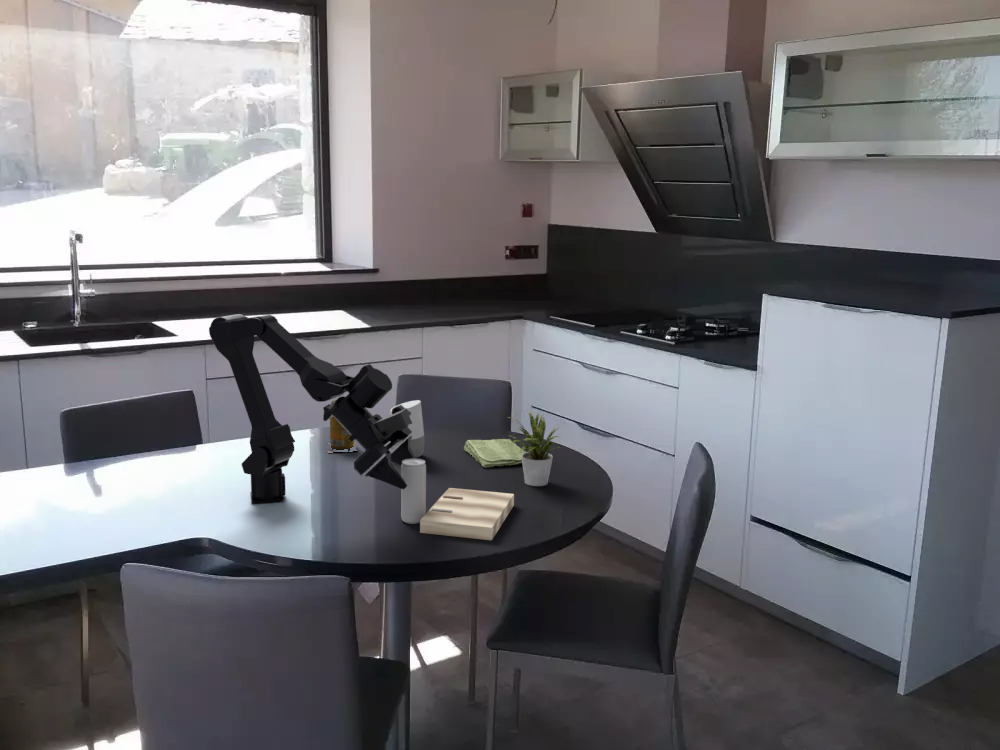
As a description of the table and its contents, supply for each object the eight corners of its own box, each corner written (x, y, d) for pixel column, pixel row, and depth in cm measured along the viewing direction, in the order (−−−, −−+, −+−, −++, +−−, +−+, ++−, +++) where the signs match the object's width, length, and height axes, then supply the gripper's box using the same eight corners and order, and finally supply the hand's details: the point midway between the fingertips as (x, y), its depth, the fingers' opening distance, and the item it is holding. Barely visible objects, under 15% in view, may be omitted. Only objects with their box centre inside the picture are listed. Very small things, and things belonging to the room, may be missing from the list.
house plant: (492, 474, 207) (493, 405, 203) (547, 469, 211) (549, 402, 208) (514, 493, 194) (516, 420, 190) (573, 487, 198) (575, 416, 195)
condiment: (355, 443, 230) (354, 397, 227) (357, 452, 222) (357, 405, 219) (326, 444, 228) (325, 398, 226) (327, 453, 220) (327, 406, 218)
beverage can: (413, 514, 180) (413, 456, 177) (430, 520, 177) (431, 461, 174) (396, 520, 176) (396, 461, 174) (413, 526, 173) (413, 466, 171)
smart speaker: (389, 451, 224) (389, 396, 221) (426, 452, 223) (426, 397, 221) (383, 462, 214) (383, 405, 212) (421, 463, 214) (422, 406, 211)
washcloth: (482, 471, 210) (482, 458, 210) (461, 450, 227) (461, 438, 226) (534, 467, 215) (535, 454, 214) (510, 447, 231) (510, 435, 230)
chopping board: (491, 540, 167) (491, 526, 167) (420, 532, 170) (420, 519, 170) (513, 505, 186) (514, 493, 186) (449, 499, 189) (449, 486, 189)
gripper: (368, 405, 164) (426, 468, 164) (402, 385, 182) (454, 442, 181) (329, 444, 167) (386, 505, 167) (366, 421, 185) (417, 476, 185)
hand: (413, 480), depth 175 cm, fingers open, 9 cm apart
